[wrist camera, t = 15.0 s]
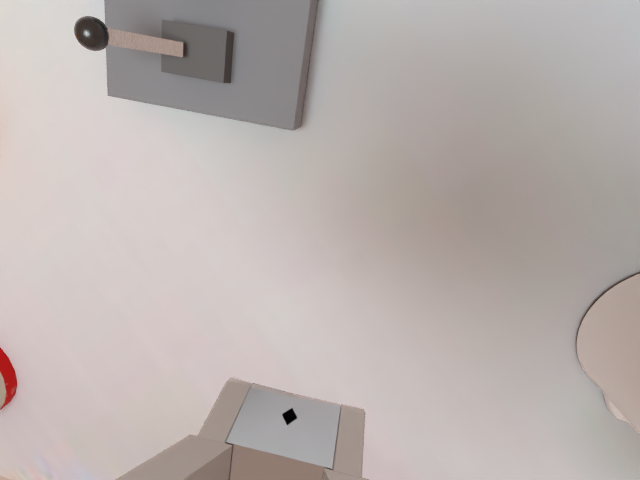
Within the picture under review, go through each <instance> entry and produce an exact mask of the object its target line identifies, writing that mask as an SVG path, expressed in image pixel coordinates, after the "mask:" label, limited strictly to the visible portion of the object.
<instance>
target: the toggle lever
mask: <svg viewBox="0 0 640 480" xmlns="http://www.w3.org/2000/svg"><path fill="white" fill-rule="evenodd" d="M74 32H75V36H76V38H77V40H78V42H79V43H80V44H81V45H82V46H84V47H85V48H87V49H89V50H93V51H99V50H102V49H104V48H105V47H106V46H107V45H111V46H117V47H123V48H130V49H136V50H142V51H148V52H154V53H160V54H166V55H172V56H178V57H183V42H178V41H173V40H168V39H163V38H157V37H152V36H147V35H142V34H136V33H131V32H126V31H121V30H115V29H110V28H107V27H106V26H105V24H104V23H103V22H102V21H100V20H99V19H97V18H95V17H91V16H85V17H82V18H80V19H79V20H78V21H77V22H76V24H75V27H74Z"/></svg>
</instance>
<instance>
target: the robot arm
mask: <svg viewBox="0 0 640 480" xmlns="http://www.w3.org/2000/svg"><path fill="white" fill-rule="evenodd" d="M577 354H578V359H579V361H580V364H581V366H582V368H583V370H584V371H585V373H586V374H587V375H588V377H589V378H590V379H591V380H592V381H593V382H594V383H595V384H596V385H597V386H598V387H599V388H600V389H601V390H602V392H603V395H604V399H605V402H606V405H607V407H608V409H609V411H610V412H611V413H612V414H613V415H614V416H615V417H616V418H617V419H618V420H621V421H627V422H629V423H630V424H631V426H632V427H633V428H634V429H635V430H636V431H637V432H638V433H639V435H640V274H637V275H635V276H633V277H630V278H628V279H626V280H624V281H622V282H621V283H619V284H617V285H616V286H614V287H613V288H611V289H610V290H608V291H607V292H606V293H605V294H604V295H602V296H601V297H600V298H599V299H598V300H597V301H596V302H595V303H594V305H593V306H592V307H591V308H590V310H589V311H588V312H587V314H586V315H585V317H584V319H583V321H582V323H581V326H580V328H579V332H578V336H577ZM364 427H365V411H364V409H360V408H356V407H351V406H347V405H342V404H341V405H340V404H337V403H332V402H328V401H324V400H319V399H315V398H311V397H306V396H302V395H298V394H293V393H289V392H285V391H281V390H278V389H274V388H270V387H266V386H263V385H259V384H255V383H253V384H252V383H249V382H245V381H242V380H238V379H234V378H230V379H229V380H228V381H227V382H226V384H225V386H224V387H223V389H222V391H221V393H220V395H219V397H218V399H217V400H216V402H215V404H214V406H213V408H212V410H211V412H210V414H209V415H208V417H207V419H206V421H205V423H204V425H203V427H202V429H201V430H200V432H199V434H198V436H194V435H189V436H187V437H186V438H184V439H182V440H181V441H179V442H177V443H176V444H174V445H172V446H171V447H169V448H167V449H166V450H164V451H162V452H161V453H159V454H157V455H156V456H154V457H152V458H151V459H149V460H147V461H146V462H144V463H142V464H141V465H139V466H137V467H136V468H134V469H132V470H131V471H129V472H127V473H126V474H124V475H123V476H121V477H119V478H118V479H116V480H369V479H365V478H362V464H363V445H364Z"/></svg>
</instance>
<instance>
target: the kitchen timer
mask: <svg viewBox="0 0 640 480" xmlns="http://www.w3.org/2000/svg"><path fill="white" fill-rule="evenodd" d="M16 387H17V380H16V375H15V370H14V368H13V366H12V364H11V362H10V360H9V358H8V357H7V355H6V354H5V353H4V352H3V350H2V349H1V348H0V410H1V409H2V408H3V407H4V406H5V405H6V404H8V403H9V402H10V401H11V399H12V398H13V396H14V395H15V393H16Z"/></svg>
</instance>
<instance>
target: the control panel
mask: <svg viewBox="0 0 640 480" xmlns="http://www.w3.org/2000/svg"><path fill="white" fill-rule="evenodd" d="M317 5H318V0H105V26H106V27H107V28H110V29H115V30H121V31H126V32H131V33H136V34H142V35H147V36H152V37H157V38H163V39H168V40H173V41H178V42H183V57H178V56H172V55H166V54H160V53H154V52H148V51H142V50H136V49H130V48H123V47H117V46H111V45H107V46H106V58H107V87H108V96H112V97H118V98H123V99H128V100H134V101H139V102H144V103H150V104H155V105H160V106H166V107H171V108H176V109H182V110H187V111H192V112H197V113H203V114H208V115H213V116H219V117H224V118H229V119H235V120H240V121H245V122H251V123H256V124H261V125H267V126H272V127H277V128H282V129H288V130H295V129H297V128H299V127H300V126H301V119H302V112H303V105H304V97H305V90H306V83H307V76H308V69H309V62H310V55H311V48H312V40H313V33H314V26H315V19H316V12H317Z"/></svg>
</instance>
